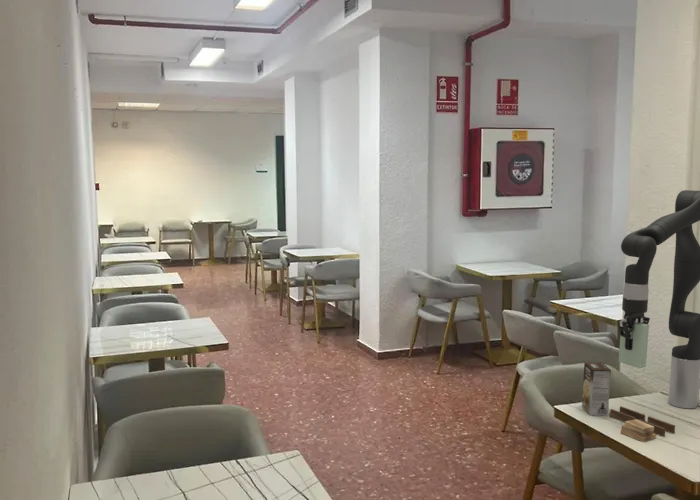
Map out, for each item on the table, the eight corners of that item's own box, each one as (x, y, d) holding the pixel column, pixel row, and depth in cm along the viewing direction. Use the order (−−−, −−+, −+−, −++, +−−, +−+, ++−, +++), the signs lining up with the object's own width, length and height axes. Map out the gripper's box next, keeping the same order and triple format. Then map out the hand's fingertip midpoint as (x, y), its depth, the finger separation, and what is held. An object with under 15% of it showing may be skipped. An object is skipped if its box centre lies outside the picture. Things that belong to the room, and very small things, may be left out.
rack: (620, 413, 226) (621, 406, 225) (674, 433, 209) (675, 425, 209) (609, 416, 223) (610, 409, 222) (663, 436, 206) (663, 429, 206)
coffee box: (580, 406, 232) (583, 361, 230) (599, 406, 232) (602, 361, 230) (589, 415, 223) (592, 369, 221) (609, 416, 223) (612, 369, 221)
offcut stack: (632, 429, 212) (633, 417, 211) (655, 438, 205) (656, 426, 204) (619, 433, 209) (620, 421, 208) (643, 442, 202) (643, 430, 201)
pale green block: (624, 360, 222) (627, 319, 220) (645, 367, 215) (649, 324, 213) (618, 361, 220) (621, 320, 219) (640, 368, 214) (643, 325, 212)
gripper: (638, 293, 222) (635, 343, 224) (611, 296, 215) (608, 349, 217) (659, 297, 216) (655, 348, 218) (631, 300, 208) (628, 354, 211)
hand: (632, 348), depth 217 cm, fingers closed on pale green block, 3 cm apart
